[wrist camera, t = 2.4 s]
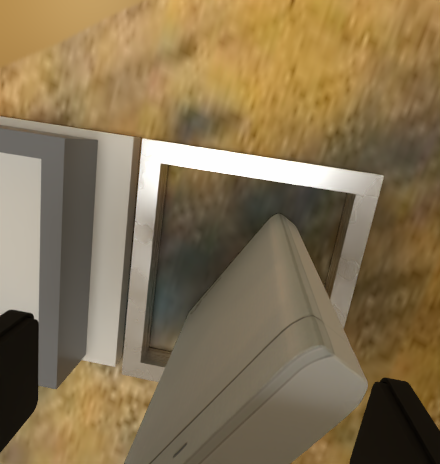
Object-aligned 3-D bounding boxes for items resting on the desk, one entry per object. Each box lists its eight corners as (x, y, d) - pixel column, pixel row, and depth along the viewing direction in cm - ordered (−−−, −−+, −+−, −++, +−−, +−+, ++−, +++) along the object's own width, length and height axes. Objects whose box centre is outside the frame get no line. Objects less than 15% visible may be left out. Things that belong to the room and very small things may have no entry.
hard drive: (183, 317, 20) (66, 570, 8) (277, 209, 18) (307, 331, 6) (206, 334, 20) (123, 610, 8) (301, 229, 18) (380, 390, 6)
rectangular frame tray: (373, 173, 17) (384, 175, 15) (316, 396, 20) (320, 416, 19) (151, 139, 18) (142, 138, 16) (131, 358, 21) (121, 374, 20)
